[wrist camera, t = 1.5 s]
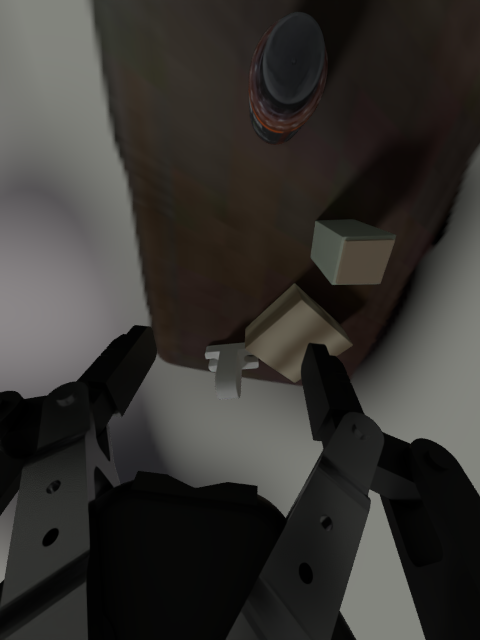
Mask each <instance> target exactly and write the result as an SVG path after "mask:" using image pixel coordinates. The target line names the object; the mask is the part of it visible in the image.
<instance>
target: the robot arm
mask: <svg viewBox="0 0 480 640" xmlns="http://www.w3.org/2000/svg"><path fill="white" fill-rule="evenodd" d="M156 354H157V348H156V344H155V339H154V335H153V330H152V328H151V327H149V326H139V325H135V326H133V327H132V328H131V329H130V331H129V332H128V333H127V334H123V335H121V336H119V337H118V338H116V339H114V340H113V341H112V342H111V344H109V346H108V347H107V349H105V350H104V351H103V352H102V353H101V356H99V357H98V358H97V359H96V360H95V361H94V362H93V364H92V365H91V366H90V367H89V368H88V369H87V370H86V371H85V373H84V374H83V375H82V376H81V377H80V378H79V379H78V380H77V381H76V382H69V383H66V384H63V385H61V386H59V387H57V388H56V389H54V390H53V391H52V392H51V393H49V394H48V395H47V396H41V397H34V398H28V399H24V398H23V397H22V396H21V395H20V394H19V393H18V392H16V391H4V392H0V515H1V514H2V512H3V511H4V510H5V508H6V507H7V505H8V504H9V502H10V501H11V500H12V499H13V497H14V496H15V494H16V493H17V492H18V490H19V494H18V500H17V506H16V512H15V518H14V524H13V530H12V537H11V542H10V549H9V555H8V561H7V567H6V573H5V579H4V580H3V581H2V582H1V583H0V640H356V638H355V637H354V635H353V633H352V631H351V630H350V628H349V626H348V624H347V623H346V621H345V619H344V617H343V616H342V614H341V612H340V611H339V610H340V607H341V604H342V600H343V597H344V594H345V590H346V587H347V583H348V580H349V577H350V573H351V570H352V567H353V563H354V560H355V557H356V553H357V550H358V547H359V543H360V540H361V537H362V533H363V529H364V527H365V523H366V520H367V517H368V513H369V509H370V504H371V500H370V498H369V497H368V492H369V489H370V490H372V491H375V492H376V493H378V494H380V497H381V500H382V504H383V506H384V510H385V513H386V516H387V519H388V522H389V526H390V529H391V532H392V535H393V538H394V541H395V545H396V548H397V551H398V554H399V557H400V560H401V563H402V567H403V569H404V573H405V576H406V579H407V582H408V585H409V589H410V592H411V595H412V598H413V601H414V604H415V608H416V611H417V613H418V617H419V620H420V623H421V626H422V630H423V633H424V636H425V639H426V640H480V496H479V494H478V493H477V491H476V490H475V488H474V486H473V485H472V483H471V481H470V480H469V478H468V477H467V475H466V474H465V472H464V471H463V469H462V467H461V466H460V464H459V463H458V461H457V460H456V459H455V458H454V456H453V455H452V454H451V453H449V452H448V451H447V450H446V449H445V448H444V447H442V446H441V445H439V444H437V443H435V442H433V441H431V440H428V439H423V438H419V439H416V440H414V441H413V442H412V443H411V444H410V443H407V442H405V441H403V440H400V439H398V438H395V437H393V436H390V435H388V434H386V433H383V432H382V431H381V429H380V427H379V426H378V425H377V424H376V423H375V422H374V421H373V420H372V419H370V418H369V417H368V416H366V415H365V414H364V412H363V410H362V408H361V405H360V403H359V400H358V398H357V396H356V394H355V391H354V389H353V386H352V384H351V383H350V379H349V377H348V375H347V372H346V370H345V367H344V365H343V363H342V362H341V361H340V360H339V359H338V358H337V357H336V356H333V355H329V352H328V349H327V347H326V345H325V344H317V343H309V344H308V346H307V349H306V352H305V355H304V358H303V361H302V365H301V379H302V384H303V389H304V394H305V400H306V404H307V410H308V415H309V420H310V425H311V431H312V436H313V440H315V441H322V444H323V451H322V453H321V455H320V457H319V458H318V460H317V462H316V464H315V466H314V468H313V469H312V471H311V473H310V475H309V477H308V479H307V480H306V482H305V484H304V486H303V488H302V490H301V491H300V493H299V495H298V497H297V498H296V500H295V502H294V504H293V506H292V507H291V509H290V511H289V513H288V515H287V516H286V518H285V517H284V515H283V514H282V513H281V512H280V511H279V510H278V509H277V507H275V506H274V505H273V504H272V503H271V502H270V501H268V500H267V499H265V498H264V497H262V496H260V495H258V494H257V486H254V485H246V484H238V483H231V482H226V483H220V484H215V485H210V486H205V487H199V488H194V487H191V486H189V485H187V484H185V483H183V482H181V481H179V480H177V479H175V478H173V477H171V476H169V475H167V474H159V473H151V472H142V471H138V472H137V474H136V477H135V479H134V480H132V481H128V482H126V483H123V484H120V482H119V478H118V475H117V472H116V469H115V465H114V459H113V452H112V444H111V436H110V429H109V424H108V422H109V420H110V419H111V417H112V416H116V417H122V416H123V415H124V413H125V411H126V409H127V408H128V406H129V404H130V402H131V401H132V399H133V397H134V395H135V393H136V392H137V390H138V388H139V387H140V385H141V383H142V382H143V380H144V378H145V376H146V375H147V373H148V371H149V369H150V368H151V366H152V364H153V362H154V361H155V358H156Z"/></svg>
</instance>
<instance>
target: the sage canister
mask: <svg viewBox="0 0 480 640" xmlns="http://www.w3.org/2000/svg"><path fill="white" fill-rule="evenodd" d="M395 237H396V235H394V234H392V233H389V232H386V231H384V230H381V229H378V228H376V227H373V226H370V225H368V224H365V223H362V222H360V221H357V220H354V219H346V220H320V221H316V223H315V230H314V237H313V244H312V251H311V258H312V260H313V261H314V262H315V264H316V265H317V266H318V267H319V269H320V270H321V271H322V273H323V274H324V275H325V276H326V278H327V279H328V280H329V282H330V283H331V284H332V285H348V284H380V283H381V280H382V277H383V274H384V271H385V268H386V265H387V262H388V259H389V257H390V254H391V251H392V248H393V245H394V242H395Z"/></svg>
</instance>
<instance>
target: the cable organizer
mask: <svg viewBox="0 0 480 640" xmlns="http://www.w3.org/2000/svg"><path fill="white" fill-rule="evenodd" d="M247 355H253V354H252V353H250V352H249V351H247V350H246V349H245V343H234V344H223V345H213V346H207V348H206V352H205V357H206V359H210V362H209V369H210V371H212V372H216V376H215V387H216V394H217V397H218V399H234V398H240V393H241V373H242V369H251V368H257V367H258V366H259V365H258V358H257V357H256V356H247Z"/></svg>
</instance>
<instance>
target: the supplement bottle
mask: <svg viewBox="0 0 480 640" xmlns="http://www.w3.org/2000/svg"><path fill="white" fill-rule="evenodd" d="M327 70H328V58H327V52H326V47H325V43H324V37H323V34H322V31H321V29H320V27H319V25H318V23H317V22H316V20H315V19H314V18H313V17H311V16H310V15H309V14H306V13H303V12H293V13H291V14H288V15H287V16H285V17H284V18H282V19H280V20H278V21H277V22H276V23H274V24H273V25H272V26H271V27H270V28H269V29H268V30H267V31H266V32H265V33H264V35H263V36H262V38H261V39H260V41H259V43H258V45H257V47H256V49H255V52H254V54H253V58H252V61H251V66H250V73H249V104H250V118H251V123H252V126H253V128H254V130H255V132H256V134H257V135H258V137H259V138H260V139H262V140H263V141H264V142H266V143H268V144H274V145H276V144H281V143H284V142H286V141H288V140H289V139H291V138H292V137H293V136H294V135H295V134H296V133H297V132H298V130H299V129H300V128H301V127H302V126H303V125H304V123H305V122H306V121H307V120H308V119H309V117H310V116H311V115H312V114H313V112H314V111H315V109H316V107H317V106H318V104H319V102H320V99H321V97H322V94H323V92H324V88H325V84H326V79H327Z"/></svg>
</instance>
